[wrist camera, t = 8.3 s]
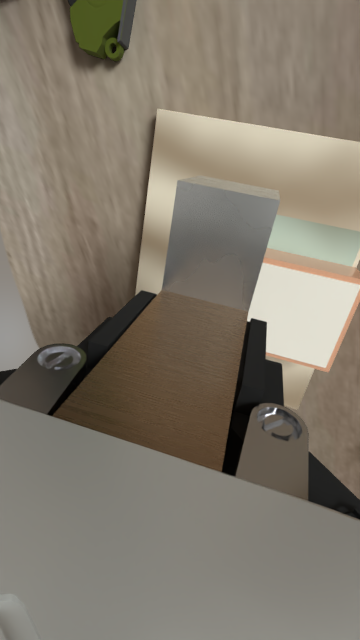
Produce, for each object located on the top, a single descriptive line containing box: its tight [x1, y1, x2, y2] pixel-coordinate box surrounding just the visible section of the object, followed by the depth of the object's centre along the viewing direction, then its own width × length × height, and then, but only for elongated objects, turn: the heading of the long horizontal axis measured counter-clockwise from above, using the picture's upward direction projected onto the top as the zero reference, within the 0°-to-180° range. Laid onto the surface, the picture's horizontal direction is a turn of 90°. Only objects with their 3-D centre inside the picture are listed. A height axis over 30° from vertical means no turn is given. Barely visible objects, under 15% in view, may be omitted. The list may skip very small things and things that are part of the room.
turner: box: [52, 175, 280, 472], centre depth 10 cm, size 10×3×10 cm, turn 170°
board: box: [135, 109, 360, 410], centre depth 23 cm, size 18×14×1 cm
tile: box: [247, 248, 360, 372], centre depth 21 cm, size 6×6×3 cm
